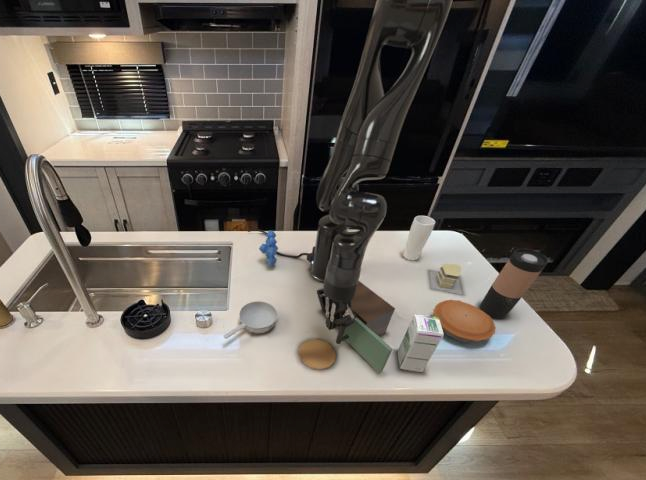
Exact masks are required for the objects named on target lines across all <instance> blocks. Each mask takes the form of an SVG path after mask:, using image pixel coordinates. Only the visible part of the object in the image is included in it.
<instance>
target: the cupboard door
mask: <svg viewBox="0 0 646 480" xmlns="http://www.w3.org/2000/svg"><path fill="white" fill-rule="evenodd" d="M344 341H346V343H348V344H349V345H350V346H351V347H352V348H353V349H354V350H355V351H356V352H357V353H358V354H359V355H360V356H361V357H362V358H363V359H364V360H365V361H366V362H367V363H369V365H371V367H373V368H374V369H375V370H376V371H377V372H378V373H379V374H380V373H381V374H382V373H383V371H384V370H385V367H386V365H387V362H389V361H388V360H389V358H390V356H391V354H392V352H393V349H394V348H393V347H391V346H390V344H388V343H387V342H386V341H384V340H383V339H382V338H381V336H380V337H379V336H378V335H376V334H375V333H374V332H373V331H372V330H371V329H369V328H368V327H367V326H366V325H365V324H364V323H363V322H361V321H360V320H359V319H358V318H355V319H353V320H350V321H348V322H345V323H341V324H340V327H339V329H338V331H337V336H336V338H335V344H336V345H342V342H344Z"/></svg>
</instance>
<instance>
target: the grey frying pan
mask: <svg viewBox="0 0 646 480" xmlns="http://www.w3.org/2000/svg"><path fill="white" fill-rule="evenodd" d="M277 319H278V312H277V310H276V307H274V306H273V305H272V304H271V303H268V302H266V301H261V300H260V301H251V302H248V303H246V304H244V305H243V306H242V307H241V308H240V310H239V320H240V323H241V324H239V325H238V326H236V327H234V328H233V329H231V330H230V331H228V332H227V333H225V334H224V335H223V338H224V339H229V338H230V337H232V336H233V335H235V334H236V333H238V332H240V331H241V330H242V329H244V328H245V330H247V331H248V332H250V333H252V334H264V333H265V334H266V332H269V331H270V330H271V329H272V328H273V327H274V326H275V325H276V323H277Z"/></svg>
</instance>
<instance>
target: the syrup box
mask: <svg viewBox="0 0 646 480" xmlns="http://www.w3.org/2000/svg"><path fill="white" fill-rule="evenodd" d="M444 335H445V334H444V333H443V330H442V327H441V323H440V320H439V317H434V315H427V314H415V313H414V314H413V316H412V318H411V321H410V322H409V325H408V327H407V330H406V331H405V334H404V336H403V338H402V340H401V342H400V345H399V347H398V349H397V351H396V354H397V359H398V367H399V369H400V370H404V371H411V372H418V373H423V372H424V370H425V368H426V367H427V365H428V364H429V361H430V360H431V358H432V357H433V355H434V353H435V351H436V349H437V348H438V346H439V344H440V343H441V341H442V340H443V337H444Z"/></svg>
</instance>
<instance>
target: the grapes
mask: <svg viewBox="0 0 646 480" xmlns="http://www.w3.org/2000/svg"><path fill="white" fill-rule="evenodd" d="M265 235H266V237H267V238H266V240H265V242H264V243H262V244H261V245H260V246H259V248H258V249H259V251H260V252H261V253H262V254H265V256H266V260H267V261H266V264H267V265H268V266H269V267H270V268H272V267H274V266H275V265H276V264H277V261H278V259H277V257H276V255H277V254H276V253H277V252H278V249H279V247H278V246H277V242H278V241H277V240H276V236H277V234H276V233H275V232H274V230H271V229H270V230H268V231H267V234H265Z"/></svg>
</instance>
